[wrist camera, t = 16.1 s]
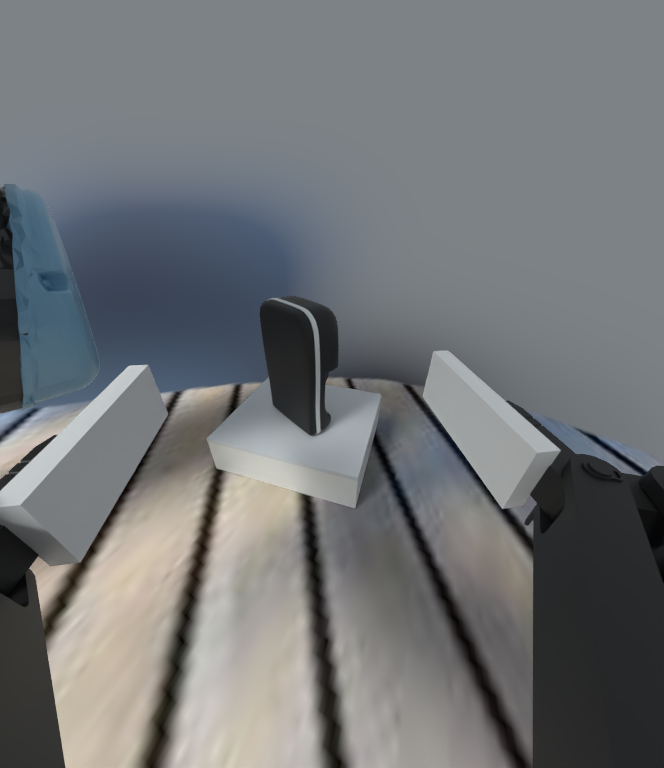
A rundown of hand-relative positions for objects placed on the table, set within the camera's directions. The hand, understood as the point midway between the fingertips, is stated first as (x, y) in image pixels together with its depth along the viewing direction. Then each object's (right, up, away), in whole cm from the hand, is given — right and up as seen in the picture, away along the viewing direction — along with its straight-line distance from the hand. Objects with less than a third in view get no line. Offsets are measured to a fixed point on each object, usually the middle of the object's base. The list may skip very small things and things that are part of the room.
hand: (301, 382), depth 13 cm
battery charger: (-1, -3, +14) cm, 15 cm away
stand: (-1, -6, +16) cm, 18 cm away
